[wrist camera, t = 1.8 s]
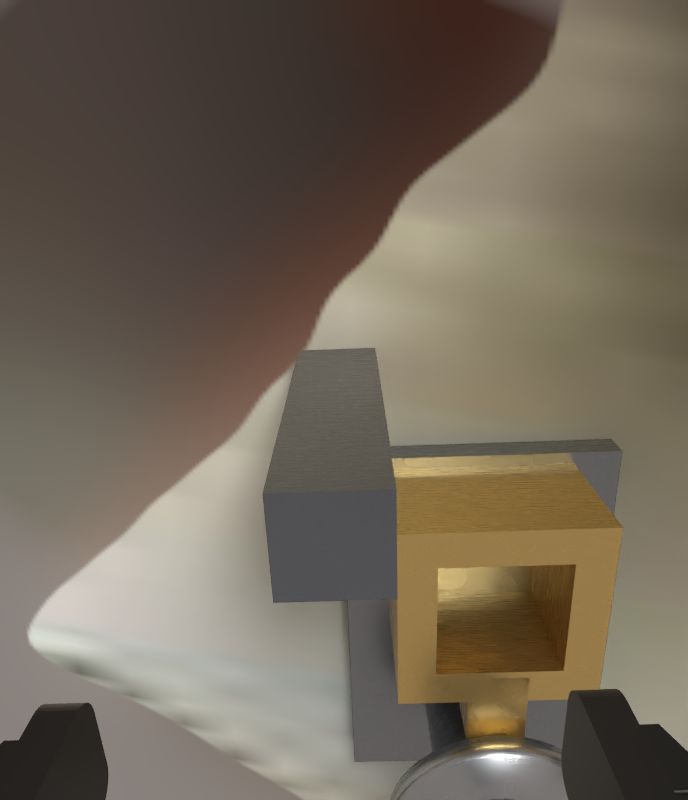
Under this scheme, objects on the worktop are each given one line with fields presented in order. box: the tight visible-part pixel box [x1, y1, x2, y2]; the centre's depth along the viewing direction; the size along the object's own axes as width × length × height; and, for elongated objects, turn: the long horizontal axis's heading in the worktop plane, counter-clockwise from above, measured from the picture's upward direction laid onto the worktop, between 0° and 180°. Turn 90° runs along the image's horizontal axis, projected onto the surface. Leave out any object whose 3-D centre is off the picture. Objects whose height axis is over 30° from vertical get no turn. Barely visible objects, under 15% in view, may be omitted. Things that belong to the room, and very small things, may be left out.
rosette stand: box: [347, 439, 623, 800], centre depth 25 cm, size 19×12×13 cm, turn 2°
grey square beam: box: [263, 348, 398, 603], centre depth 21 cm, size 3×3×12 cm
